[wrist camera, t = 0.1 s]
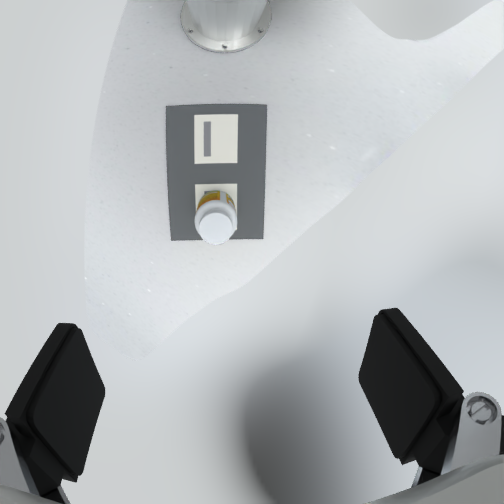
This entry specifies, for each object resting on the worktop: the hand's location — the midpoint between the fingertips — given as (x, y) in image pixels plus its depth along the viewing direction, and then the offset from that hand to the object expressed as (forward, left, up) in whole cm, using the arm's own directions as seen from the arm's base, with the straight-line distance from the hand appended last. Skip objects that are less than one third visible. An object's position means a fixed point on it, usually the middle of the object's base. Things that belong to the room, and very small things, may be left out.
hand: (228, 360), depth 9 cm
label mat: (0, -1, -37) cm, 37 cm away
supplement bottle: (+5, -1, -37) cm, 37 cm away
